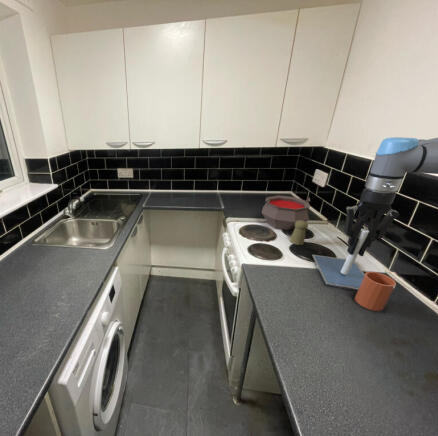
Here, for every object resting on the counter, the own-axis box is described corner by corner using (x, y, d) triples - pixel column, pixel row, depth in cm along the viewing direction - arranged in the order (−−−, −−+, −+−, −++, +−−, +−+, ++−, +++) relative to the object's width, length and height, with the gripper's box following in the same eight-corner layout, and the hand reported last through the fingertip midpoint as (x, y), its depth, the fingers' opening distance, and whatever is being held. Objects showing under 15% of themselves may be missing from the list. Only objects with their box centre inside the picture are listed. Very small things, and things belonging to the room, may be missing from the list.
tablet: (353, 262, 96) (354, 260, 95) (377, 294, 79) (378, 292, 78) (311, 256, 101) (312, 254, 100) (325, 285, 84) (326, 283, 83)
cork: (304, 240, 113) (309, 220, 108) (304, 246, 108) (309, 225, 104) (289, 237, 116) (294, 217, 111) (289, 243, 111) (294, 222, 107)
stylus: (345, 272, 88) (367, 228, 78) (347, 276, 86) (370, 232, 76) (338, 271, 89) (359, 228, 78) (340, 275, 87) (362, 231, 77)
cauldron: (294, 216, 139) (300, 190, 132) (316, 235, 117) (325, 205, 111) (253, 215, 142) (257, 190, 135) (267, 234, 120) (273, 205, 113)
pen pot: (376, 298, 77) (388, 274, 73) (387, 313, 71) (401, 288, 67) (351, 293, 80) (361, 269, 76) (360, 308, 74) (371, 283, 70)
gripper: (354, 191, 71) (332, 255, 81) (420, 195, 66) (388, 263, 76) (345, 185, 77) (325, 244, 87) (404, 188, 72) (376, 251, 82)
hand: (354, 253), depth 81 cm, fingers closed on stylus, 2 cm apart
